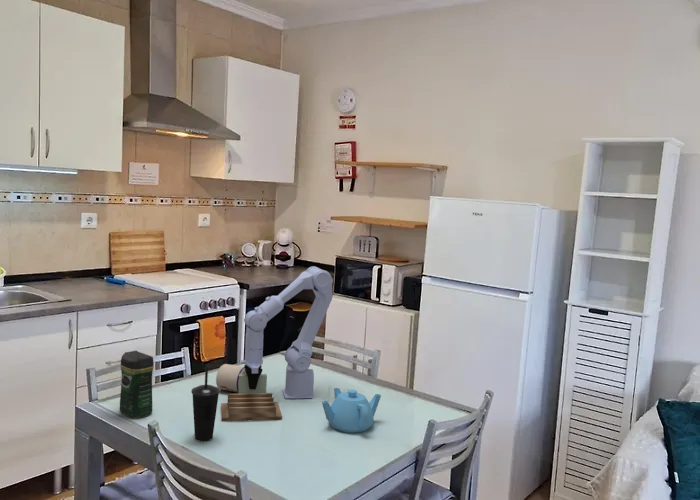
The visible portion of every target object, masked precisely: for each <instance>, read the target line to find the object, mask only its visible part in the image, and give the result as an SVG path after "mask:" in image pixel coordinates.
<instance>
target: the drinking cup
mask: <svg viewBox="0 0 700 500" xmlns="http://www.w3.org/2000/svg"><path fill="white" fill-rule="evenodd" d="M208 374H209V367H207V366H206V367H205V371H204V384H201V385H198V386H195V387H193V388H192V389H191V390H190V391H191V392H190V393H191V394H192V408H193V411H192V412H193V413H192V414H193V427H194V429H193V430H194V431H193V432H194V439H195V440H196V441H199V442H208V441H211V440H213V438H214V437H213V436H214V432H215V423H216V418H217V417H216V415H217V409H218V402H219V401H218V400H219V395H220V392H221V389H219V388H218V387H217V386H214V385H211V384H208V378H209V377H208V376H209V375H208Z"/></svg>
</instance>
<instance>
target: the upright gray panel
mask: <svg viewBox="0 0 700 500" xmlns="http://www.w3.org/2000/svg"><path fill="white" fill-rule="evenodd" d="M267 380H268V374H267V373H261V375H260V377H259V379H258V383H257V387H256V389H249V384H248V377H247V374H239V386H238V392H237V394H248V393H267V386H268V385H267V383H268V382H267Z"/></svg>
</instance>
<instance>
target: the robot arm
mask: <svg viewBox="0 0 700 500" xmlns="http://www.w3.org/2000/svg"><path fill="white" fill-rule="evenodd" d="M333 282H334V280H333V277H332V275H331V273H329V271H327V270H324V269H321V268H320V267H317V266H315V265H314V266H313V265H312V266H310V267H308V268H307V269H306V270H304V271H302V272H301V273H300V274H299V276H297V278H296V279H294V280H293V281H292V282H291V283H289V285H288V286H286V287H285V288H284V289H283V290H281V292H280V293H278V295H271V296H267V297H265V301H263V303H261V304H260V305H259V306H256V307H254V310H250V311H248V312H247V313H246V314H245V317H244V318H243V323H244V324H245V326H246V327H245V328H246V329H245V341H244V342H245V343H244V345H245V346H244V359H241V361H240V363H241V364H242V365H243V367H245V372H246V374H247V377H248V384H249V389H256V387H257V383H258V379H259V377H260V375H261V374H263V368H262V366H263V364H264V360H263V359H264V357H263V355H264V353H263V351H264V329H265V328H266V327H267V323H268V322H269V321H271V319H273V318H274V317H275V316H276V315H277V314H279V313H280V312H281V311H282V310H284V306H285V303H287V302H288V301H290V300H291V299H292V298H294V297H295V296H296V295H297V294H298V295H299V293H300V292H302V291H303V290H312V292H313V293H314V295H315V298H314V300H313V302H312V305H311V307H310V309H309V312H308V313H307V316H306V318H305V320H304V323H303V325H302V327H301V330H300V332H299V334H298V336H297V339H296V340H294V341H292V343H291V346H290V347H288V348H287V350H286V351H285V353H284V360H285V362H286V363H287V365H286V369H285V385H284V386H285V387H284V388H283V389H282V394H283V395H284V398H285V400H286V399H289V400H290V399H314V386H315V385H314V382H315V375H314V374H315V373H314V369H311V368H310V366H311V361H312V360H311V358H312V355H313V344H314V341H315V339H316V337H317V334H318V332H319V329H320V328H321V325H322V323H323V320H324V319H325V316H326V314H327V311H328V309H329V307H330V305H331V302H332V300H333V296H334V295H333Z"/></svg>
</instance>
